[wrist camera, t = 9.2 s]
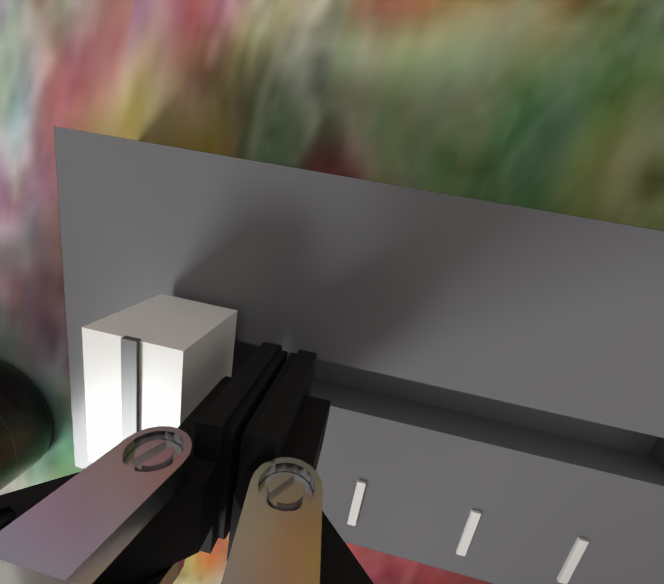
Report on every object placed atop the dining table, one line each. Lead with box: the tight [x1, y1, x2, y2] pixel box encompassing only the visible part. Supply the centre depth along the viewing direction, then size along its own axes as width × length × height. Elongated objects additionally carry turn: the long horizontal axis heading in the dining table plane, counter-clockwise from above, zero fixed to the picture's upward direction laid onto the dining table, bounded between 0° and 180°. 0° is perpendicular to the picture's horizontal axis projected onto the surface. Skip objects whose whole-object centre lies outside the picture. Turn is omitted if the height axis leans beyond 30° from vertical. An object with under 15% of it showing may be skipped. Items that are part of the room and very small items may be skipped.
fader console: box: [54, 126, 664, 584], centre depth 13 cm, size 13×23×4 cm, turn 81°
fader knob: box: [82, 294, 237, 463], centre depth 11 cm, size 4×3×5 cm, turn 170°
